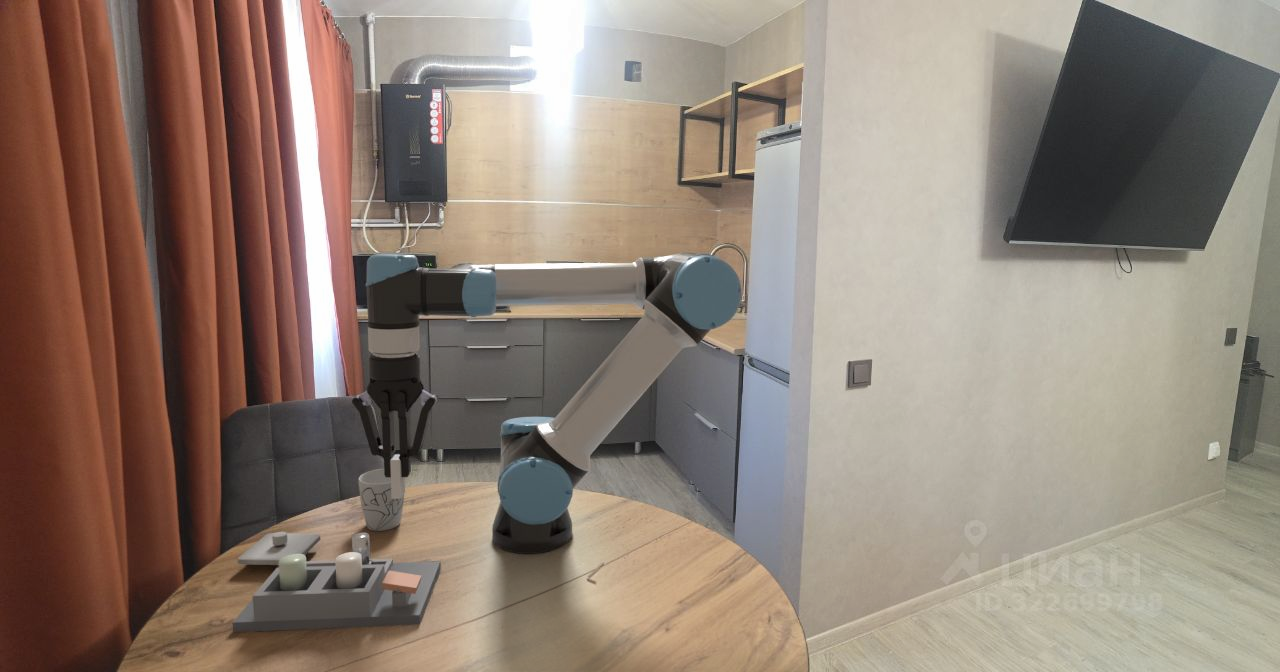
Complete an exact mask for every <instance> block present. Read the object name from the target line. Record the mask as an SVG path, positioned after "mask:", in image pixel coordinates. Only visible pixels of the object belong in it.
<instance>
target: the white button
mask: <svg viewBox="0 0 1280 672" xmlns="http://www.w3.org/2000/svg"><path fill="white" fill-rule="evenodd" d="M334 561H335V564H336V583H337V587H338V588H340V589H350V588H354V587H357V586H359V585H360V584H361V583H362V581H363V577H362V556H361V554H360V553H357V552H353V551H349V552H344V553H342V554H340V555H338V556H337V557H335V560H334Z"/></svg>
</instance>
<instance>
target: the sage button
mask: <svg viewBox="0 0 1280 672" xmlns="http://www.w3.org/2000/svg"><path fill="white" fill-rule="evenodd" d="M306 561H307V557H306V555H303V554H291V555H287V556H285V557H283V558H281V559H280V560H279V565H278V568H279V577H280V588H281V590H283V591H294V590H298V589H300V588H302V587H304V586H305V585H306V584H307V567H306Z"/></svg>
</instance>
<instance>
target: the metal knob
mask: <svg viewBox="0 0 1280 672" xmlns="http://www.w3.org/2000/svg"><path fill="white" fill-rule="evenodd" d="M351 545H352V547H351V548H352V549H351V550H352V551H351V552H357V553H360V554H361V556H362V565H373V560H370V559H371V549H370V534H369V533H368V532H358V533H355V534H353V535H352V536H351Z"/></svg>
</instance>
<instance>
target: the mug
mask: <svg viewBox="0 0 1280 672" xmlns="http://www.w3.org/2000/svg"><path fill="white" fill-rule="evenodd" d="M358 490H359V497H360V504H361V508H362V509H361V510H362V513H363V517H364V521H365V526H366V527H367V529H369V530H370V531H374V532H384V531H389V530H393V529H394V528H396V527H398V526H399V525H400V524H401V520H402V515H403V509H404V503H405V502H404V501H405V494H404V495H403V496H402V498H401V499H391V477H385V475H384V468H378V469H373V470H369V471H366V472H364V473H362V474H360V476H358Z"/></svg>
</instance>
